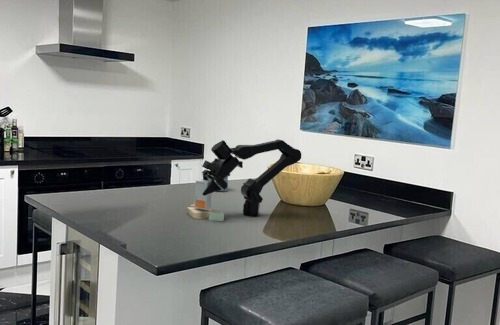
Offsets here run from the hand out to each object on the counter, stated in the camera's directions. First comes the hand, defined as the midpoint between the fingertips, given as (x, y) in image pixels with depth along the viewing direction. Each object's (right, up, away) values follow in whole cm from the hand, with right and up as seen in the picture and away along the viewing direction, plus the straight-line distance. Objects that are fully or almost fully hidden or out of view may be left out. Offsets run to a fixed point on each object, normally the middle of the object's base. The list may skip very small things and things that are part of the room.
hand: (200, 193), depth 208 cm
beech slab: (0, -10, +2) cm, 10 cm away
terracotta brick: (-3, -9, +9) cm, 13 cm away
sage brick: (+7, -11, -3) cm, 13 cm away
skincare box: (+1, -7, +1) cm, 7 cm away
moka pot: (+4, -3, +62) cm, 62 cm away
